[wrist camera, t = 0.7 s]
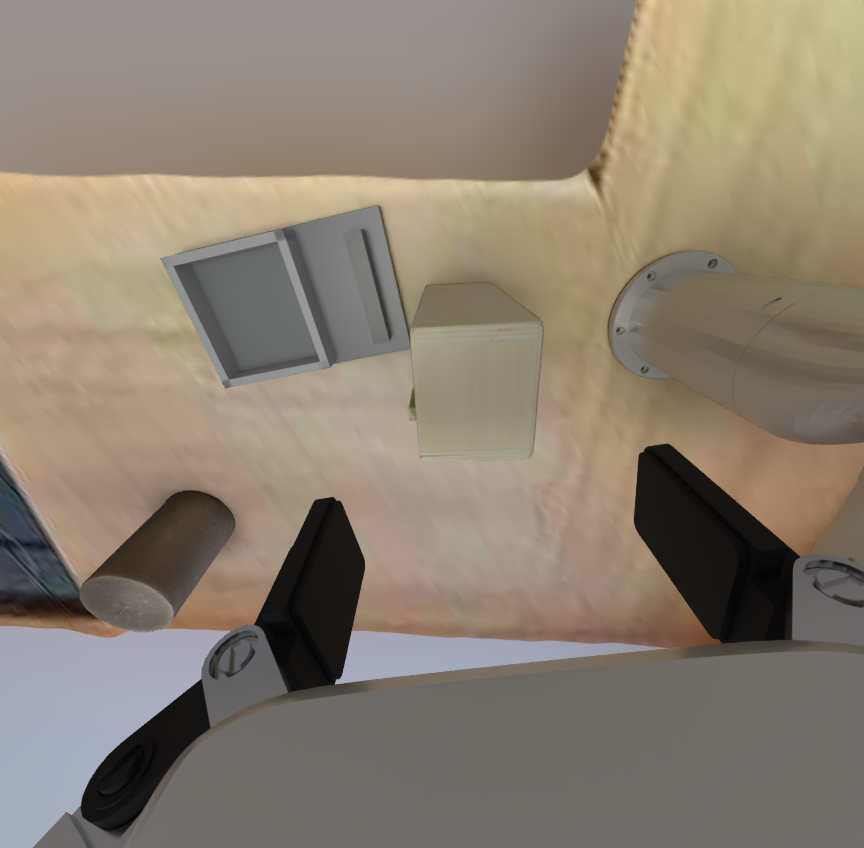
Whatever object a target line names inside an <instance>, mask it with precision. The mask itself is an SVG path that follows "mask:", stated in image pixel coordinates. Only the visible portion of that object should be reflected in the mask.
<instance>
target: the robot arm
mask: <svg viewBox="0 0 864 848" xmlns="http://www.w3.org/2000/svg"><path fill="white" fill-rule="evenodd" d="M648 274H649V277H648V278H647V276H648ZM617 328H619V329H618V330H617V331H616V329H617ZM608 334H609V342H610V346H611V349H612V352H613V354H614V356H615V357H616V359H617V360H618V362H619V363H621V364H622V365H623V366H624V367H625V368H626V369H628V370H629V371H631V372H632V373H634V374H636V375H639V376H641V377H646V378H651V379H665V378H671V377H672V378H674V379H676V380H677V381H679V382H681V383H683V384H684V385H686V386H688V387H689V388H691V389H693V390H695V391H696V392H698V393H700V394H702V395H703V396H705V397H707V398H708V399H710V400H712V401H714V402H715V403H717V404H719V405H721V406H722V407H724V408H726V409H728V410H729V411H731V412H733V413H734V414H736V415H738V416H740V417H741V418H743V419H745V420H747V421H748V422H750V423H752V424H754V425H756V426H758V427H759V428H761V429H763V430H765V431H767V432H769V433H771V434H773V435H775V436H778V437H781V438H784V439H787V440H790V441H795V442H800V443H806V444H820V445H836V444H850V443H861V442H864V287H857V286H846V285H836V284H827V283H818V282H808V281H799V280H789V279H780V278H771V277H761V276H752V275H743V274H738V273H737V271H736V269H735V268H734V267H733V266H732V265H731V263H730V262H728V261H727V260H725V259H724V258H722V257H721V256H719V255H716V254H713V253H710V252H702V251H683V252H679V253H674V254H670V255H668V256H665V257H663V258H660V259H658V260H656V261H655V262H653V263H651V264H650V265H648V266H646V267H645V268H644V269H643V270H641V271H640V272H639V273H638V274H637V275H635V276H634V278H633V279H632V280H631V281H630V282H629V283H628V284H627V285H626V286H625V288H624V289H623V291H622V293H621V294H620V296H619V297H618V299H617V301H616V303H615V305H614V308H613V310H612V313H611V317H610V321H609V332H608ZM634 524H635V528H636V530H637V532H638V533H639V535H640V536H641V538H642V539H643V541H644V542H645V543H646V545H647V546H648V548H649V549H650V551H651V552H652V553H653V555H654V556H655V558H656V559H657V561H658V562H659V564H660V565H661V566H662V568H663V569H664V571H665V572H666V574H667V575H668V576H669V578H670V579H671V581H672V582H673V584H674V585H675V586H676V588H677V589H678V591H679V592H680V594H681V595H682V597H683V598H684V599H685V601H686V602H687V604H688V605H689V607H690V608H691V609H692V611H693V612H694V614H695V615H696V617H697V618H698V620H699V621H700V622H701V624H702V625H703V627H704V628H705V630H706V631H707V632H708V634H709V635H710V636H711V637H712V638H714V639H719V640H720V641H721V643H722V644H713V645H701V646H689V647H678V648H668V649H658V650H648V651H638V652H628V653H618V654H608V655H598V656H588V657H578V658H568V659H559V660H550V661H539V662H530V663H520V664H511V665H501V666H493V667H483V668H474V669H464V670H455V671H446V672H437V673H428V674H419V675H410V676H401V677H392V678H383V679H375V680H367V681H359V682H352V683H344V684H336V685H335V682H336V679H340V678H341V676H342V673H343V668H344V664H345V659H346V655H347V650H348V645H349V640H350V636H351V631H352V627H353V622H354V617H355V613H356V608H357V603H358V599H359V594H360V590H361V585H362V580H363V576H364V571H365V560H364V557H363V554H362V552H361V549H360V547H359V544H358V542H357V539H356V537H355V534H354V532H353V530H352V527H351V525H350V522H349V520H348V517H347V515H346V512H345V510H344V507H343V505H342V503H341V501H336V499H335V498H334V497H330V498H323V499H317V500H315V501H314V502H313V505H312V507H311V509H310V511H309V513H308V515H307V517H306V519H305V522H304V524H303V526H302V528H301V530H300V532H299V534H298V537H297V539H296V541H295V543H294V545H293V546H292V547H291V549H290V550H289V552H288V555H287V557H286V559H285V561H284V563H283V565H282V567H281V569H280V571H279V574H278V576H277V578H276V580H275V582H274V584H273V586H272V588H271V590H270V593H269V595H268V597H267V599H266V601H265V603H264V605H263V607H262V610H261V612H260V614H259V616H258V618H257V620H256V622H255V624H254V625H245V626H242V627H239V628H236V629H235V630H233V631H231V632H230V633H228V634H227V635H225V636H224V637H223V638H222V639H221V640H219V641H218V643H217V644H216V645H215V646H214V647H213V648H212V649H211V651H210V653H209V654H208V656H207V657H206V659H205V661H204V664H203V667H202V676H201V677H202V679H201V680H200V681H198V682H197V683H196V684H195V685H193V686H192V687H191V688H189V689H188V690H187V691H186V692H184V693H183V694H182V695H181V696H179V697H178V698H177V699H176V700H174V701H173V702H172V703H171V704H170V705H168V706H167V707H166V708H164V709H163V710H162V711H161V712H159V713H158V714H157V715H156V716H154V717H153V718H152V719H151V720H149V721H148V722H147V723H146V724H144V725H143V726H142V727H141V728H139V729H138V730H137V731H136V732H134V733H133V734H132V735H131V736H129V737H128V738H127V739H126V740H125V741H123V742H122V743H121V744H120V745H119V746H117V747H116V748H115V749H114V750H113V751H112V752H111V753H110V754H109V755H108V756H107V757H106V758H105V760H104V761H103V762H102V763H101V765H100V766H99V767H98V768H97V770H96V772H95V773H94V774H93V776H92V778H91V779H90V781H89V783H88V785H87V787H86V789H85V792H84V794H83V797H82V802H81V806H80V807H79V808H78V809H77V810H76V811H75V812H74V814H73V815H71V814H69V813H67V812H66V813H65V814H64V815H63V816H62V817H61V818H60V820H59V821H58V822H57V823H56V824H55V825H54V826H53V827H52V828H51V829H50V830H49V831H48V832H47V833H46V834H45V836H44V837H43V838H42V839H41V840H40V841H39V842H38V843H37V844H36V845H35V846H34V847H33V848H864V467H863V469H862V470H861V472H860V473H859V475H858V481H857V482H856V484H855V486H854V487H853V489H852V490H851V492H850V493H849V495H848V496H847V498H846V499H845V501H844V502H843V504H842V505H841V507H840V508H839V510H838V512H837V513H836V515H835V516H834V518H833V519H832V521H831V522H830V524H829V525H828V527H827V528H826V530H825V531H824V533H823V535H822V536H821V537H820V539H819V540H818V542H817V544H816V545H815V547H814V549H813V551H812V553H811V554H810V555H805V556H801V557H800V556H799V555H798V554H796V553H795V552H794V551H793V550H792V549H791V548H790V547H788V546H787V545H786V544H785V543H784V542H783V541H781V540H780V539H779V538H778V537H777V536H776V535H774V534H773V533H772V532H771V531H770V530H769V529H768V528H766V527H765V526H764V525H763V524H762V523H761V522H759V521H758V520H757V519H756V518H755V517H754V516H752V515H751V514H750V513H749V512H748V511H747V510H746V509H744V508H743V507H742V506H741V505H740V504H739V503H737V502H736V501H735V500H734V499H733V498H732V497H730V496H729V495H728V494H727V493H726V492H725V491H724V490H722V489H721V488H720V487H719V486H718V485H716V484H715V483H714V482H713V481H712V480H711V479H710V478H708V477H707V476H706V475H705V474H704V473H703V472H701V471H700V470H699V469H698V468H697V467H696V466H694V465H693V464H692V463H691V462H690V461H689V460H688V459H686V458H685V457H684V456H683V455H682V454H681V453H679V452H678V451H677V450H676V449H675V448H674V447H672V446H671V445H670V444H661V445H655V446H649V447H646V448H645V450H644V452H642V453H640V454H639V459H638V472H637V485H636V498H635V511H634Z"/></svg>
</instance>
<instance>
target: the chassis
mask: <svg viewBox="0 0 864 848" xmlns="http://www.w3.org/2000/svg"><path fill="white" fill-rule="evenodd" d="M160 259H161V261H162V263H163V265H164V267H165V269H166V271H167V273H168V275H169V277H170V279H171V281H172V283H173V285H174V287H175V289H176V291H177V293H178V295H179V297H180V299H181V301H182V303H183V305H184V307H185V309H186V311H187V313H188V315H189V317H190V319H191V321H192V323H193V325H194V327H195V329H196V331H197V333H198V335H199V337H200V339H201V341H202V343H203V345H204V347H205V349H206V351H207V353H208V355H209V357H210V359H211V361H212V363H213V365H214V367H215V369H216V371H217V373H218V375H219V377H220V379H221V381H222V383H223V385H224V387H225V388H229V387H234V386H239V385H244V384H249V383H255V382H260V381H265V380H270V379H275V378H280V377H285V376H290V375H295V374H301V373H306V372H311V371H316V370H321V369H326V368H330V367H331V366H332V365H333V364H335V363H340V362H345V361H350V360H355V359H360V358H365V357H370V356H376V355H381V354H386V353H391V352H396V351H401V350H406V349H411V344H410V335H409V331H408V327H407V322H406V318H405V314H404V309H403V305H402V301H401V296H400V292H399V287H398V283H397V279H396V274H395V270H394V266H393V261H392V257H391V253H390V248H389V244H388V240H387V235H386V231H385V227H384V222H383V218H382V213H381V209H380V206H378V205H377V206H373V207H369V208H365V209H361V210H356V211H352V212H348V213H344V214H340V215H336V216H332V217H327V218H323V219H319V220H315V221H311V222H307V223H303V224H298V225H294V226H290V227H286V228H282V229H278V230H274V231H269V232H265V233H261V234H257V235H253V236H249V237H245V238H241V239H236V240H232V241H228V242H224V243H220V244H216V245H212V246H207V247H203V248H199V249H195V250H191V251H187V252H183V253H178V254H175V255H172V256H168V257H164V258H160Z"/></svg>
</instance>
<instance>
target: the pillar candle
mask: <svg viewBox="0 0 864 848" xmlns="http://www.w3.org/2000/svg"><path fill="white" fill-rule="evenodd" d="M233 529H234V518H233V516H232V514H231V512H230V510H228V508H227V507H226V506H225V505H223V504H222V503H221V502H220V501H218V500H217V499H215V498H213V497H210V496H208V495H205V494H202V493H199V492H195V491H184V492H183V491H182V492H179V493H176V494H174V495H172V496H171V497H169V498H168V499H167V500H166V503H165V504H164V505H163V506H162V507H161V508H160V509H159V510H157V511H156V512H155V513H154V514H153V515H152V517H150V518H149V519H148V520H147V521H146V522H145V523H144V524H143V525H142V526H141V527H140V528H139V529H138V530H137V531H136V532H135V533H134V534H133V535H132V536H131V537H130V538H129V539H127V540H126V541H125V542H124V543H123V544H122V545H121V546H120V547H119V548H118V549H117V550H116V551H115V552H114V553H113V554H112V555H111V556H110V557H109V558H108V559H107V560H106V561H105V562H104V563H103V564H102V565H101V566H100V567H99V568H98V569H97V570H96V571H95V572H94V573H93V574H92V575H91V576H90V577H89V578H88V579H87V580H86V581H85V582H84V583H83V584H82V587H81V589H80V591H79V592H80V600H81V602H82V603H83V605H84V606H85V608H86V609H87V610H88V611H89V612H91V613H92V614H93V615H94V616H96V617H97V618H99V619H100V620H102V621H104V622H106V623H108V624H110V625H113V626H116V627H119V628H122V629H127V630H131V631H134V632H150V631H152V632H153V631H154V630H159V629H163V628H164V627H167V626H168V625H169V624H170V623H171V621H173V619H174V617H175V616H176V614H177V613H178V611H179V610H180V608H181V607H182V605H183V604H184V602H185V601H186V599H187V598H188V596H189V595H190V594H191V592H192V591H193V589H194V588H195V586H196V585H197V583H198V582H199V581H200V579H201V578H202V576H203V575H204V573H205V572H206V570H207V569H208V568H209V566H210V565H211V563H212V562H213V560H214V559H215V558H216V556H217V555H218V553H219V552H220V550H221V549H222V547H223V546H224V544H225V543H226V541H227V540H228V538H229V537H230V535H231V534H232V532H233Z"/></svg>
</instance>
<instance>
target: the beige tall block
mask: <svg viewBox="0 0 864 848" xmlns="http://www.w3.org/2000/svg"><path fill="white" fill-rule="evenodd" d="M543 330H544V327H543V322H542V320H541V319H540V318H539V317H537V316H536V315H535V314H533V313H532V312H530V311H529V310H528V309H526V308H525V307H524V306H522V305H521V304H519V303H518V302H517V301H515V300H514V299H512V298H511V297H509V296H508V295H507V294H506V293H504V292H503V291H501V290H500V289H499V288H497V287H496V286H495V285H493V284H492V283H490V282H480V283H460V284H442V285H427V286H426V287H425V290H424V292H423V295H422V298H421V301H420V304H419V306H418V309H417V312H416V314H415V317H414V319H413V322H412V325H411V328H410V344H411V357H412V370H413V382H414V387H413V389H412V394H411V400H410V405H409V420H410V421H416V420H417V432H418V443H419V454H420V460H421V461H422V462H458V461H488V460H517V459H527V458H530V457H531V456H532V454H533V449H534V440H535V429H536V417H537V404H538V392H539V379H540V368H541V357H542V346H543Z"/></svg>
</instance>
